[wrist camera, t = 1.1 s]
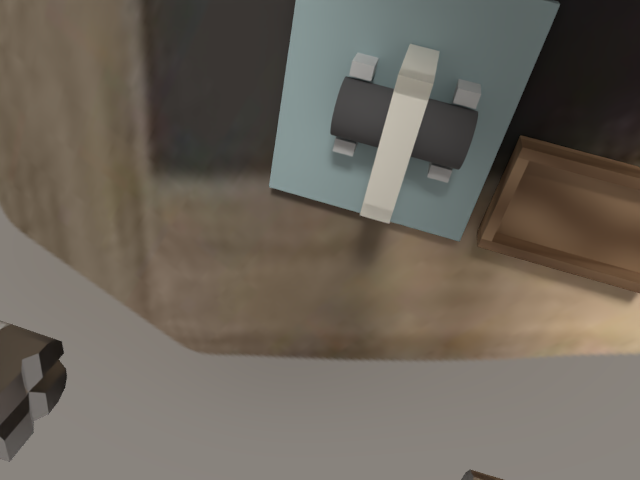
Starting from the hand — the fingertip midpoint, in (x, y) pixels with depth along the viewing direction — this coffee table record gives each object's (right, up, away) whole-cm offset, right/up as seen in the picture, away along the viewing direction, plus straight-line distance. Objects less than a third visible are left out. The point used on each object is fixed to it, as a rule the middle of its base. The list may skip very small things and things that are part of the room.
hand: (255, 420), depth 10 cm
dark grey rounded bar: (+7, +12, +27) cm, 31 cm away
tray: (+21, +6, +29) cm, 36 cm away
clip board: (+7, +13, +28) cm, 32 cm away
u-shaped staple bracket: (+7, +12, +27) cm, 31 cm away
